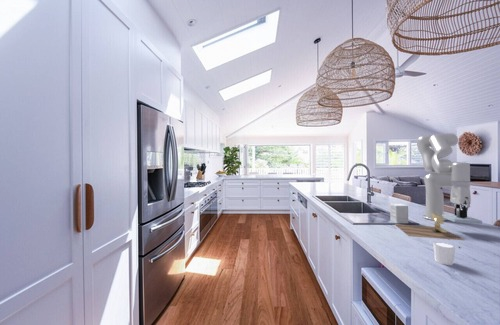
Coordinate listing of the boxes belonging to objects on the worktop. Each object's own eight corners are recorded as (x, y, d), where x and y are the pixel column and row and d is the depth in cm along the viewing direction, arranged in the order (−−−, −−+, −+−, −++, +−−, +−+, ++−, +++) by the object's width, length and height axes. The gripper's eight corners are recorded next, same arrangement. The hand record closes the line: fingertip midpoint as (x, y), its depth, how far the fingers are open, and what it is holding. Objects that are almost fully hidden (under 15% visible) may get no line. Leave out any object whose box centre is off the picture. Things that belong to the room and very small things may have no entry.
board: (394, 226, 136) (394, 223, 136) (440, 229, 129) (440, 226, 129) (408, 238, 115) (408, 235, 115) (465, 243, 108) (465, 240, 108)
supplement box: (401, 222, 144) (401, 203, 144) (408, 225, 137) (408, 205, 137) (389, 222, 145) (389, 203, 145) (396, 225, 138) (396, 205, 138)
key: (441, 235, 115) (441, 217, 115) (431, 228, 125) (431, 212, 125) (446, 235, 114) (447, 217, 114) (436, 229, 125) (436, 213, 124)
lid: (442, 216, 131) (442, 206, 131) (466, 218, 128) (466, 207, 128) (454, 222, 119) (454, 210, 119) (482, 223, 116) (481, 211, 116)
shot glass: (431, 261, 89) (431, 244, 89) (433, 256, 94) (434, 240, 94) (454, 267, 84) (455, 249, 84) (455, 261, 89) (455, 244, 89)
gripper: (444, 182, 133) (444, 212, 133) (461, 185, 117) (462, 219, 117) (459, 182, 130) (459, 213, 130) (479, 185, 115) (479, 220, 114)
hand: (460, 216), depth 123 cm, fingers closed on lid, 3 cm apart
